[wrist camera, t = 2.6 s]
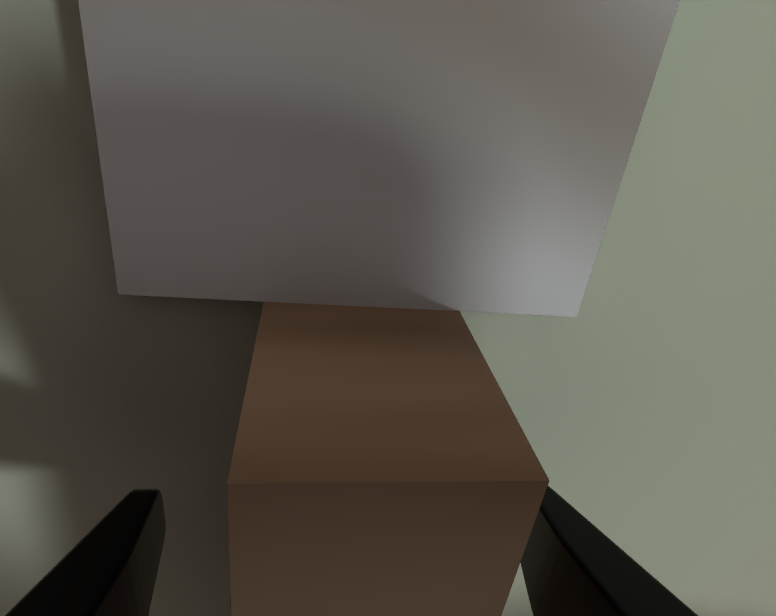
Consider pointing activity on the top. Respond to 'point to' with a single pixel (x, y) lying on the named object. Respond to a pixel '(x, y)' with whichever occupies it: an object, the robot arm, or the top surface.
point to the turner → (370, 257)
